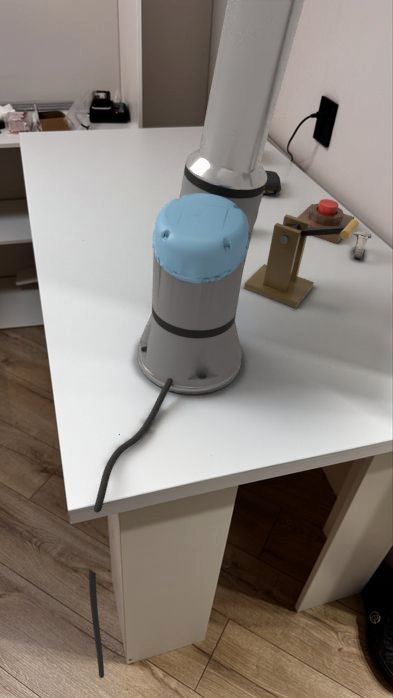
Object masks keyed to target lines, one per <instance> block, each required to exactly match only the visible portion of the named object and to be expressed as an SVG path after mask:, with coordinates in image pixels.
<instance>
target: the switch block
mask: <svg viewBox="0 0 393 698" xmlns="http://www.w3.org/2000/svg"><path fill="white" fill-rule="evenodd" d="M318 206H319V203H311V204H310V205H309V206H308V207H307V208H306V209H304V210H303V212H301V213H300V214H299V215H298V216H297V218H300V219H303V220H306V221H309V222H310V226H309V228H316V227H331V226H345V225H348V224H349V222H350V221H351V220H353V219H355V216H352V215H349V214H347V213H344V211H343V209H342V208H340V207H338V209H337V213H336V215H332V216H331V215H324V214H321V213H319V212H318ZM315 237H317V238H319V239H322V240H325V241H328V242H331V243H333V244H338V243H339V242H340V241H341V239H342V238H341V237H340V234H332V235H316V236H315Z"/></svg>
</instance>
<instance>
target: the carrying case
mask: <svg viewBox="0 0 393 698" xmlns="http://www.w3.org/2000/svg"><path fill="white" fill-rule="evenodd" d="M264 170H265V169H264ZM265 172H266V174H267V181H266V184H265V188H264V192H263V195H273V196H275V195H277V194H278V193H279V192H281V190H282V183H281V177H280V176H279V174H278V173H277V172H276V171H273V170H265Z"/></svg>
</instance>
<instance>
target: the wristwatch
mask: <svg viewBox="0 0 393 698" xmlns="http://www.w3.org/2000/svg"><path fill="white" fill-rule="evenodd" d="M353 235H354V236H356V243H355V245H354V246H355V248H354V250H353V252H352V258H355V259H356V258H357V259H359V260H360V259H362V257H363V254H364V251H365V247H366V243H367V241H368V239H372V238H373V237H372V234H370V233H369V232H365V231H359V230H358V231H354V232H353Z"/></svg>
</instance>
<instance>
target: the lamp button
mask: <svg viewBox="0 0 393 698" xmlns="http://www.w3.org/2000/svg"><path fill="white" fill-rule="evenodd" d="M338 208H339V203H338V202H337V201H335V200H333V199H329V198H323V199H320V200H319V206H318V212H319V213H321V214H324V215H331V216H332V215H336V213H337V209H338Z"/></svg>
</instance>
